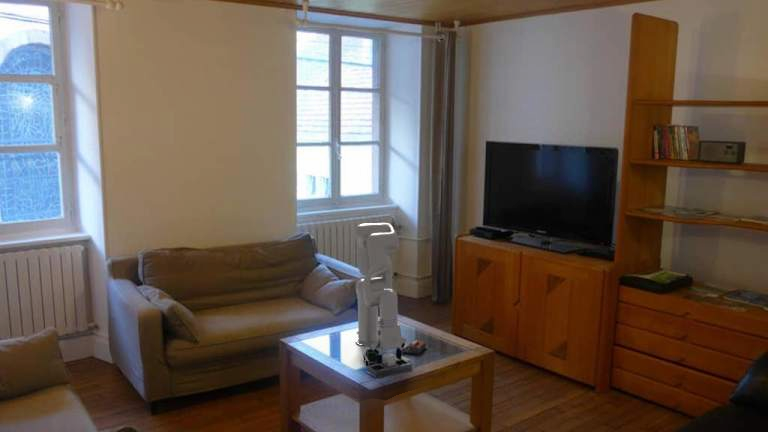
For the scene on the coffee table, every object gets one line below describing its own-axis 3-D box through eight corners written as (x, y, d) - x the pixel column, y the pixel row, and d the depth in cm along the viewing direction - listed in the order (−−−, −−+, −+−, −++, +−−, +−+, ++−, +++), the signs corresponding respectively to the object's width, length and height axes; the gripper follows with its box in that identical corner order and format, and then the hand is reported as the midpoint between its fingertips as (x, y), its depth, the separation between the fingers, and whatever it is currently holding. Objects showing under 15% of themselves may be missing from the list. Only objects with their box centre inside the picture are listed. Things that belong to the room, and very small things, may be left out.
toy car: (376, 358, 307) (375, 347, 306) (379, 367, 295) (379, 356, 294) (363, 359, 306) (362, 347, 305) (366, 368, 294) (366, 356, 293)
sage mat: (388, 359, 304) (388, 358, 304) (401, 356, 308) (401, 355, 308) (396, 364, 298) (396, 362, 298) (409, 361, 302) (409, 359, 302)
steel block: (382, 370, 291) (382, 354, 290) (390, 368, 293) (390, 352, 292) (387, 373, 288) (387, 357, 287) (395, 371, 290) (395, 355, 289)
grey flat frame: (376, 377, 282) (376, 372, 282) (366, 371, 289) (366, 366, 289) (411, 369, 292) (411, 363, 291) (401, 363, 298) (401, 358, 298)
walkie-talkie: (409, 345, 324) (395, 356, 305) (409, 336, 323) (395, 347, 305) (426, 347, 321) (413, 359, 302) (427, 337, 320) (414, 349, 302)
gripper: (375, 327, 280) (376, 367, 282) (410, 320, 289) (410, 359, 291) (366, 323, 286) (367, 362, 288) (401, 316, 295) (401, 354, 297)
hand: (389, 360), depth 290 cm, fingers open, 9 cm apart
